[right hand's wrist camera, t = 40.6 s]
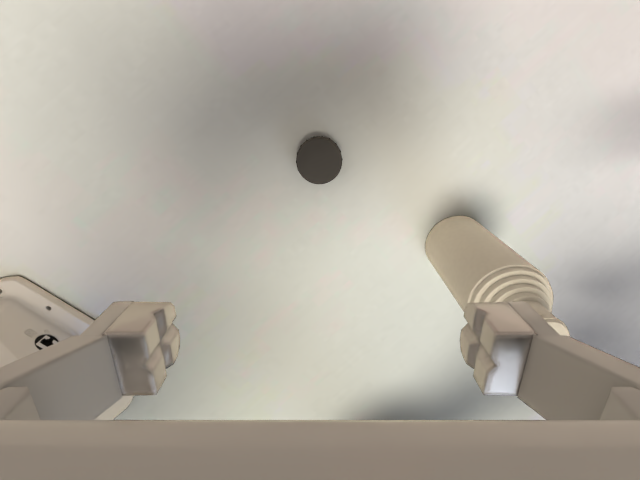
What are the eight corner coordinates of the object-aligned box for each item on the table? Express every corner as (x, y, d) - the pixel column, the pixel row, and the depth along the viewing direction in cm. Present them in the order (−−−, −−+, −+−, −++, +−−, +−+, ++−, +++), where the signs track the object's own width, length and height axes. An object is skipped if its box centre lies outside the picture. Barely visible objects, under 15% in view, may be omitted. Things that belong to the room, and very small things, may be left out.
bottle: (439, 208, 39) (526, 287, 22) (495, 225, 39) (618, 314, 23) (415, 261, 41) (478, 368, 25) (468, 277, 42) (563, 390, 25)
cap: (303, 185, 38) (302, 189, 36) (292, 141, 36) (290, 143, 34) (345, 175, 37) (346, 179, 36) (336, 131, 36) (337, 132, 34)
